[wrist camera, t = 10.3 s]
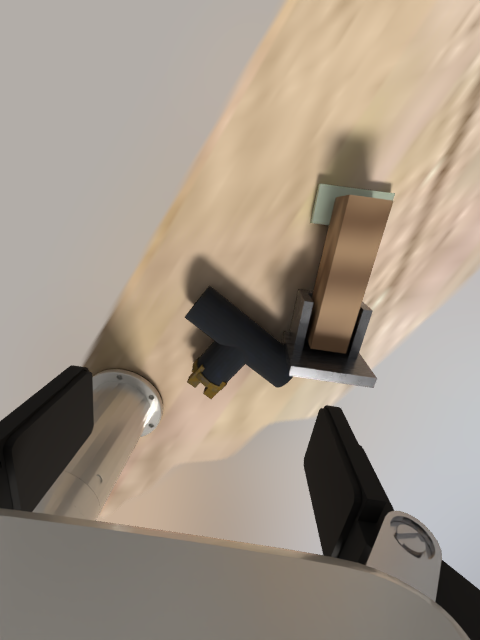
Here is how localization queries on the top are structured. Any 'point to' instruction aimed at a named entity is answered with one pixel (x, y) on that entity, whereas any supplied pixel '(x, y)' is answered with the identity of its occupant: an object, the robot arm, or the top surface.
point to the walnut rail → (345, 269)
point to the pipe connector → (233, 345)
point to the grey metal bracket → (326, 362)
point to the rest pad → (330, 192)
